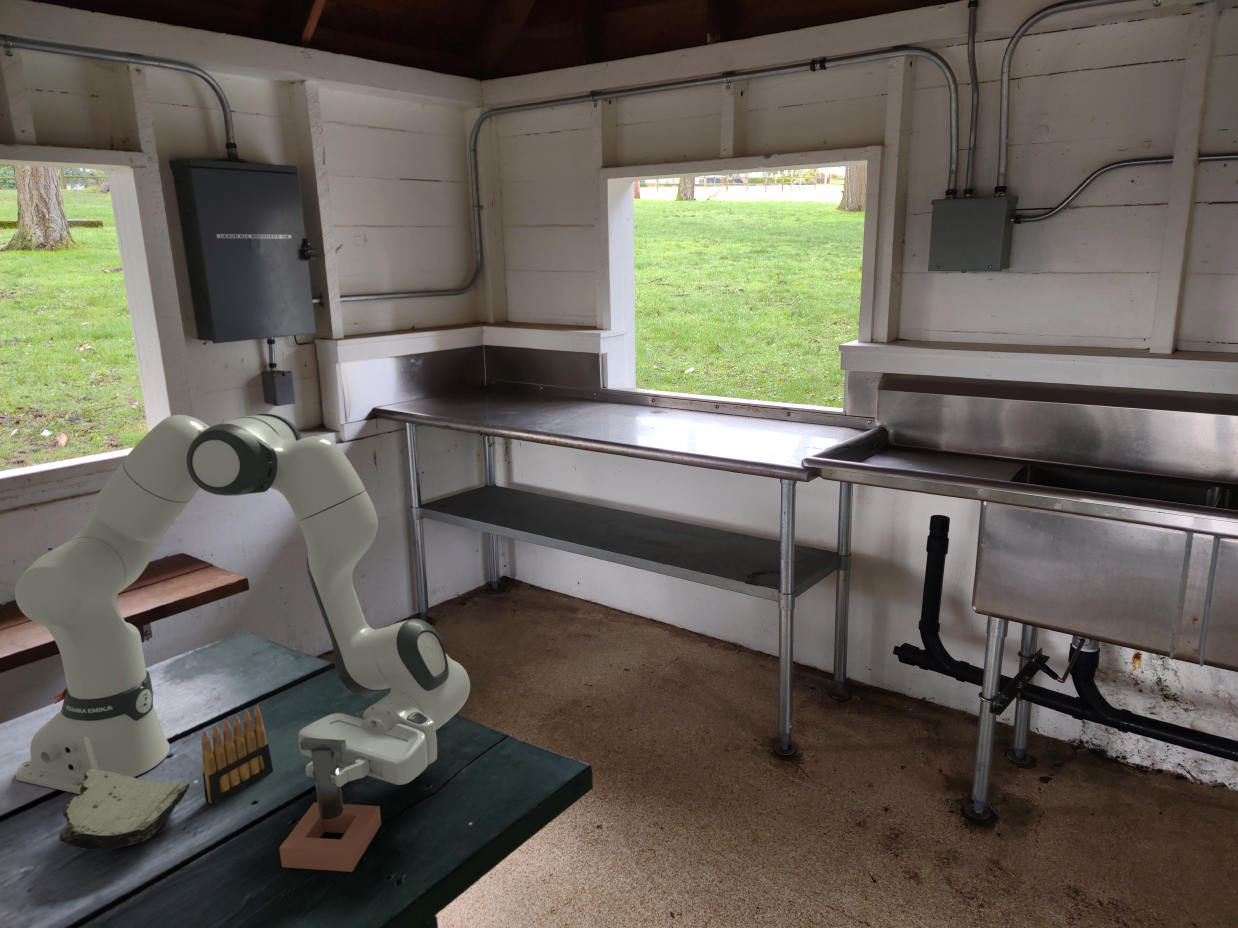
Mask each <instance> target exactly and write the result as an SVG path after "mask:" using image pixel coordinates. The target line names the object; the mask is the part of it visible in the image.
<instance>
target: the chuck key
mask: <svg viewBox="0 0 1238 928" xmlns="http://www.w3.org/2000/svg"><path fill="white" fill-rule="evenodd" d="M300 746H301V750H311V753H312V758H311V759H312V760H311V762H312V761H313V769H314V777H315V778H314V783H315V791H316V792H315V793H316V801H317V803H318V808H319V816H320V817H321V818H322V819H333V818H336V817H338V816H339V815H341V814H342V812H343V804H344V803H343V795H342V786H341V787H338V786H336V785H333V784H331V779H330V775H331V773H332V772H333V771H335V770H336V769H337V768H339V766H338V759H337V752H343V751H344V749H345V748H346V741H345V740H335V739H319V738H304V739H303V740H302V741H301V742H300Z"/></svg>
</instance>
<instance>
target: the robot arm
mask: <svg viewBox="0 0 1238 928" xmlns="http://www.w3.org/2000/svg"><path fill="white" fill-rule="evenodd" d="M345 454H346V453H344V452H343V451H342V449H341V448H340V446H339V445H338V444H337V443H336V442H335V441H334V440H333V439H331V438H330V437H327V436H320V435H312V436H306V437H303V438H302V436H301V433H300V431H299V429H298V428H297V427H296V426H295V424H293V423H292V421H290V420H289V419H287V418H284V417H283V416H280V415H277V414H271V413H258V414H254V415H246V416H240V417H236V418H233V419H231V420H228V421H225V422H223V423H218V424H214V425H212V426H210V425H208V424H206V422H204V421H202V420H200V419H198V418H197V417H194V416H190V415H186V414H174V415H170V416H167V417H165V418H164V419H162V420H161V421H159V423H157V424H156V425H155V426H154V427H153V428H152V429H151V430H150V431H148V433H146V434H145V435H144V436H143V437H142V439H140V441H138V443H136V445H135V446H134V447H133V448H132V450H131V451H130V452H129V453H128V455H127V456H126V457H125V459H123V461H122V462H121V463H120V465H119V466H118V468H117V469H116V470H115V472H114V473H113V474H112V475H111V477H110V478H109V479H108V481H107V482H106V484H104V486H103V488H102V489H101V490H100V491H99V493H98V494H97V495H96V497H95V500H94V509H93V513H92V515H91V516H90V519H89V521H88V522H87V524H86V525H85V526H84V527H83V528H82V530H81V531H79V532H78V533H77V534H76V535H75V536H73V537H72V538H71V539H69V540H67V541H66V542H65V543H63V544H61V545H59V546H58V547H56V548H54V549H52V550H50V551H48V552H46V553H45V554H42V555H41V556H40V557H38V558H37V559H36V560H35V561H33V563H32V564H31V565H30V566H28V568H27V569H26V570H25V571H24V572H23V573H22V574H21V576H20V577H19V578H18V580H17V581H16V585H15V589H14V597H15V601H16V604H17V607H18V608H19V610H20V611H21V612H22V613H23V616H25V617H27V618H28V619H29V620H31V621H32V622H34V623H36V624H38V625H41V626H44V627H45V628H46V629H47V630H48V632H49V634H50V635H51V637H52V638H53V640H54V642H55V644H56V645H57V648H58V651H59V654H60V658H61V661H62V662H61V663H62V666H63V671H64V675H65V681H66V682H65V683H66V686H67V687H66V688H64V689H63V691H62V692H60V693H59V694H57V695H55V696H54V697H53V698H52V699H53V700H55V701H54V702H53V703H54V704H55V705H56V704H58V703H60V702H62V701H63V703H62V706H61V709H60V710H59V711H58V713H56V714H55V715H54V716H53V717H52V718H50V720H48V721H47V722H46V723H45V724H43V725H42V726H41V728H39V729H38V730H37V731H36V732H35V733H34V735H33V737H32V739H31V741H30V747H29V751H30V755H29V756H28V757H27V758H26V759H25V760H24V761H23V762H22V763H21V764H20V765H19V766H18V768H17V770H16V771H15V780H17V781H19V782H24V783H28V784H32V785H37V786H41V787H45V788H51V789H55V790H60V791H64V792H68V793H73V794H77V795H80V794H81V793H80V788H81V786H82V784H83V781H84V774H85V772H86V771H88V770H90V769H97V770H103V771H107V772H114V773H118V774H120V775H123V776H131V777H134V778H136V777H137V776H140V775H142V774H144V773H146V772H148V771H149V770H152V769H153V768H154V767H156V766H158V765H159V764H160V763H161V762H162V761H163V760H164V759H165V758H166V757H167V756H168V754H169V752H170V750H171V745H170V743H169V741H168V739H167V737H166V735H165V733H164V732H163V729H162V726H161V724H160V721H159V719H158V715H157V712H156V710H155V709H156V708H155V706H154V690H153V685H152V678H151V675H150V672H149V671H148V670H147V668H146V661H145V656H144V648H143V642H142V636H141V633H140V630H139V629H138V627H136V626H135V625H133V624H132V623H130V622H126V621H125V618H124V617H123V614H122V613H121V611H120V608H119V606H118V594H119V593H121V592H122V591H124V590H125V589H127V588H128V587H129V586H130V585H132V584H133V583H135V582H136V581H137V580H138V579H139V577H140V576H141V575H142V574H143V572H145V569H146V568H147V567H148V566H149V564H150V561H151V560H152V557H153V556H154V553H155V552H156V550H157V548H158V546H159V545H160V543H161V541H162V539H163V537H164V536H165V535H166V533H167V531H168V530H169V529H170V528H171V527H172V525H173V524H174V522H175V521H176V520H177V518H178V517H179V516H180V514H181V513H182V512H183V510H185V508H186V507H187V505H189V503H190V502H191V500H192V499H193V498H194V497H195V495H196V493H198V491H199V490H200V489H201V490H203V491H205V492H207V493H210V494H213V495H216V496H217V495H218V496H223V497H224V496H227V497H229V496H230V497H231V496H243V495H251V494H261V493H266V492H267V491H269V489H273V490H276V491H277V492H279V493H280V494H282V496H283V497H284V498H285V499H286V501H287V502H288V504H289V506H290V508H291V510H292V513H293V515H294V516H295V518H296V521H297V522H298V524H299V527H300V529H301V531H302V534H303V537H304V540H305V544H306V545H305V546H306V548H307V549H306V550H307V558H306V570H307V575H308V578H309V581H310V585H311V588H312V590H313V593H314V596H315V599H316V602H317V606H318V608H319V610H320V613H321V616H322V618H323V621H324V624H325V627H326V629H327V633H328V635H329V638H330V641H331V644H332V648H333V654H334V655H333V656H334V660H335V668H336V671H337V675H338V678H339V679H340V681H341V683H342V684H343V685H344V687H345V688H346V689H347V690H349V691H351V692H352V693H354V694H355V695H358V696H363V697H367V696H372V695H376V694H378V693H380V692H384V691H386V690H387V689H390V692H389V694H387V695H386V696H384V697H383V698H381V699H379V700H378V701H376V702H375V703H373V704H372V705H370V706H369V707H367V708H366V709H365V710H364V712H363V714H362V717H358V716H357V717H356V716H353V715H352V714H348V713H347V714H346V713H341V712H335V713H331V714H329V715H326V716H324V717H321V718H320V719H318V720H316V721H314V722H311V723H310V724H308V725H306V726H304V727H303V728H301V729H300V731H299V733H298V734H297V735H298V736H297V741H298V747H299V748H298V749H299V753H300V754H301V755H302V756H305V757H308V758H311V759H312V753H311V750H301V746H300V742H301V741H302V740H303V739H304V738H319V739H335V740H345V741H346V748H345V749H344V751H343V752H337V759H338V768H337V769H336V770H335V771H333V772H332V773H331V775H330V779H331V784H333V785H336V786H338V787H341V788H342V787H343V786H344V785H345V784H347V783H348V782H352V781H355V780H359V779H362V778H365V777H366V776H368V777H372V778H374V779H378V780H380V781H384V782H387V783H391V784H393V785H396V786H401V785H406V784H408V783H410V782H412V781H413V780H415V779H416V777H418V776H420V775H421V774H423V772H424V771H425V770H426V768H427V767H428V765H431V764H433V763H434V762H435V761H436V760H437V759H438V744H437V743H438V742H437V733H436V730H438V729H440V728H441V727H442V726H443V725H444V724H446V723H447V722H448V721H450V720H451V719H452V718H453V717H454V716H455V715H456V714H457V713H458V712H459V711H460V710H461V709H462V708H463V706H464V705H465V703H466V702H467V700H468V697H469V696H470V690H471V681H470V678H469V675H468V673H467V671H466V669H465V668H464V667H463V666H462V665H461V664H460V663H459V662H457V661H455V660H453V659H452V658H451V657H450V656H449V655H448V653H446V650H445V647H444V644H443V641H442V639H441V637H440V635H439V633H438V632H437V631H436V630H435V628H434V627H433V626H432V625H431V624H430V623H428V622H427V621H425V620H423V619H419V618H410V619H407V620H404V621H399V622H396V623H393V624H390V625H388V626H384V627H381V628H377V629H374V628H372V627H371V626H370V625H369V624H368V623H367V621H366V619H365V618H366V617H365V615H364V612H363V610H362V609H363V608H362V607H361V603H360V602H359V601H360V600H359V598H358V595H357V592H356V590H355V587H354V581H353V575H354V570H355V568H356V565H357V564H358V562H359V561H360V560H361V558H362V557H363V556H364V555H365V554H366V552H368V550H369V549H370V548H371V546H372V545H373V543H374V541H375V538H376V536H377V532H378V527H379V520H378V516H377V515H378V514H377V512H376V509H375V508H376V507H375V505H374V503H373V501H372V500H371V497H370V495H369V493H368V492H367V490H366V488H365V485H364V483H363V482H362V480H361V478H360V476H359V474H358V472H357V471H356V470H355V468H354V466H353V465H352V463H351V462H350V460H349V459H348V458H347V456H346V455H345ZM305 775H306V777H308V778H312V779H315V777H314V769H313V761H312V760H311V761H310V762H309V763H307V764H306V765H305Z"/></svg>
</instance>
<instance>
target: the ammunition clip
mask: <svg viewBox="0 0 1238 928" xmlns="http://www.w3.org/2000/svg"><path fill="white" fill-rule="evenodd" d="M253 725H254V726H253ZM232 727H233V734H232V729H231V725H230V723H229V722H228V720H227V719H225V720H224V722H223V726H222V735H223V741H222V736H221V731H220V729H219V728H218V726H217V725H213V729H212V744H211V739H210V736H209V734H208V732H207V731H206V730H203V732H202V735H201V747H202V756H201V757H202V766H203V772H202V779H203V788H204V789H203V790H204V798H205V799H204V800H205V803H207V804H208V805H210V806H213V807H214V806H216V805H218V804H220V803H221V802H223V801H225V800H226V799H228V798H230V797H232V796H234V795H236V794H237V793H238V792H240V791H242V790H244V789H245V788H247V787H248V786H251V785H252V784H255V783H256V782H257V781H260V780H261V779H263V778H264V777H266V776H268V775H270V774H271V773H273V772H274V766H273V761H272V756H271V751H270V750H271V749H270V746H269V743H267V735H266V729H265V726H264V722H263V717H262V711H261V710H260V707H259V706H258V705H257V704H255V705H254V708H253V721H252V718H251V715H250V712H249V711H248V710H247V709H245V710H244V713H243V727H242V724H241V719H240V718H239V716H238V715H237V714H236V715H234V718H233V723H232ZM242 728H243V729H242ZM243 730H244V731H243ZM212 745H213V747H212Z"/></svg>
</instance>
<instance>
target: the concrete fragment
mask: <svg viewBox="0 0 1238 928" xmlns="http://www.w3.org/2000/svg"><path fill="white" fill-rule="evenodd" d="M189 788H190V782H188V783H186V782H184V781H183V782H182V781H177V782H172V783H170V782H169V783H168V782H167V783H166V782H163V781H159V780H154V779H144V780H141V779H138V778H136V777H131V776H123V775H120V774H118V773H114V772H107V771H103V770H97V769H90V770H88V771H86V772H85V774H84V781H83V784H82V786H81V788H80V793H81V794H79V795H77V796H73V798H72V799H71V800H70V801H69V802H68V803H67V804H66V805H65V807H64V810H63V811H62V812H63V813H62V815H63V817H65V818H64V819H65V820H66V822H67V823H66V824H65V825H64V826H65V827H63V828H62V830H61V831H60V832H59V836H58V838H59V841H60V842H62V843H64V844H65V845H68V846H71V847H75V848H79V849H83V850H88V851H107V850H114V849H115V850H116V849H121V848H124V847H128V846H131V845H134V844H139V843H142V842H145V841H147V839H148V840H149V839H150V838H151V837H153V835H155V834H156V833H157V832H158V830H159V829H160V828H161V827H162V826H163V825H164V824H165V822H166V821H167V819H168V818H169V817H170V815H172V812H173V811H174V810H175V808H176V806H177V805H179V804H180V803H181V801H182V800H183V799H184V797H185V795H186V794H187V792H188V789H189Z"/></svg>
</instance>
